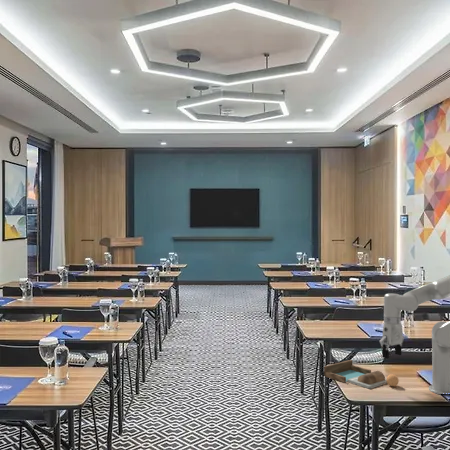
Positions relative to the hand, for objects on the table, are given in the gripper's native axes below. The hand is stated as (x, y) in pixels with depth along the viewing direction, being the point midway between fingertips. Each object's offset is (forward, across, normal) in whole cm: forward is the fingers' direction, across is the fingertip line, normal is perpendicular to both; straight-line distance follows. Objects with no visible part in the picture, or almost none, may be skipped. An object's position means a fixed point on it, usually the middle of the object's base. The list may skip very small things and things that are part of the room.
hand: (391, 356), depth 238 cm
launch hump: (+16, -4, +9) cm, 19 cm away
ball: (+14, 0, 0) cm, 14 cm away
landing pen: (+14, -4, +23) cm, 27 cm away
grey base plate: (+14, -4, +10) cm, 18 cm away
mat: (+14, -4, +23) cm, 27 cm away
